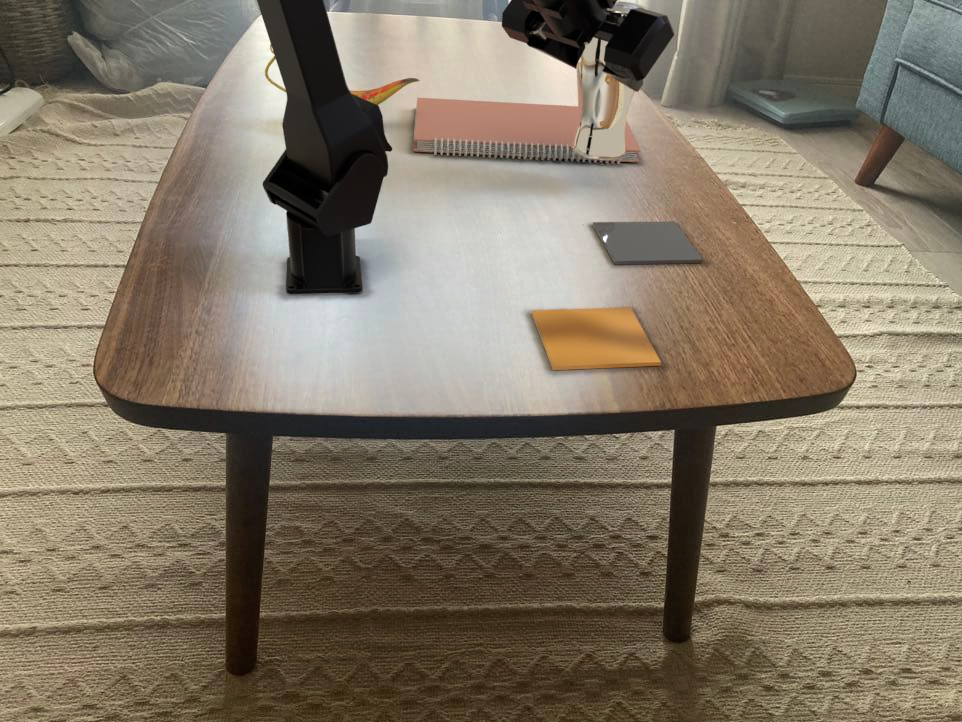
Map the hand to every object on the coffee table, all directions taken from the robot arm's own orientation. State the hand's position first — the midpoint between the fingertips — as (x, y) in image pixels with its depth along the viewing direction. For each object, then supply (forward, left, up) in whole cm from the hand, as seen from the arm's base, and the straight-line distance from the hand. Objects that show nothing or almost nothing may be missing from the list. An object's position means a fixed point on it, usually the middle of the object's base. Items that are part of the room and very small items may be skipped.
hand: (614, 79), depth 99 cm
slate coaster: (-15, -1, -12) cm, 19 cm away
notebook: (+16, +6, -12) cm, 21 cm away
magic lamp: (+17, +28, -12) cm, 35 cm away
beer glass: (-1, +1, -8) cm, 8 cm away
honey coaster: (-33, +9, -12) cm, 36 cm away
